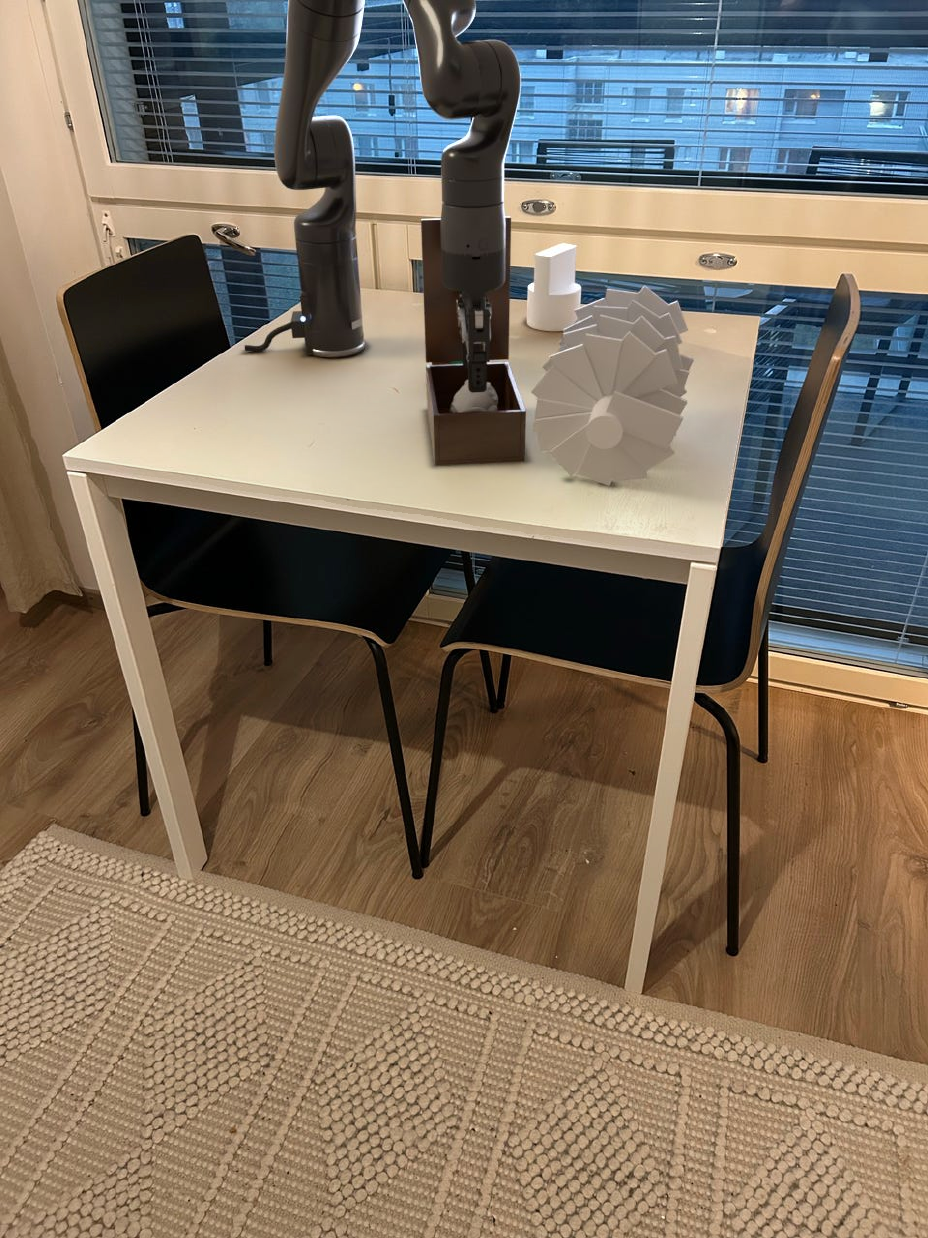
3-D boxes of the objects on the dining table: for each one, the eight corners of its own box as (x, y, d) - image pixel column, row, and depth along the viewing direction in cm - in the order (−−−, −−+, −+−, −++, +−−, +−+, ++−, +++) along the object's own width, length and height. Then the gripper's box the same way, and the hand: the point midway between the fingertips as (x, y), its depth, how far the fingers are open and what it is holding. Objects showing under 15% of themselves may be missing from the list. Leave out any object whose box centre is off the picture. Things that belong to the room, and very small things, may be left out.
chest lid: (511, 217, 115) (506, 209, 119) (421, 220, 115) (419, 211, 118) (508, 359, 126) (504, 347, 129) (425, 362, 125) (424, 351, 129)
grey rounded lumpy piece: (507, 429, 123) (508, 377, 119) (480, 448, 118) (480, 395, 114) (467, 419, 125) (467, 369, 121) (440, 438, 120) (438, 386, 116)
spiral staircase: (560, 519, 112) (588, 426, 131) (704, 476, 104) (711, 384, 123) (496, 385, 103) (536, 306, 122) (647, 327, 96) (665, 253, 115)
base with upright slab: (544, 311, 166) (547, 240, 159) (588, 320, 161) (593, 247, 154) (516, 324, 160) (518, 251, 153) (561, 334, 155) (565, 259, 148)
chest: (524, 461, 116) (526, 411, 112) (434, 465, 115) (433, 415, 112) (507, 407, 130) (508, 361, 126) (427, 411, 129) (425, 364, 126)
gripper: (437, 230, 113) (440, 360, 123) (445, 259, 102) (448, 401, 111) (498, 228, 114) (497, 358, 123) (513, 257, 102) (511, 398, 111)
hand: (474, 378), depth 117 cm, fingers open, 8 cm apart
